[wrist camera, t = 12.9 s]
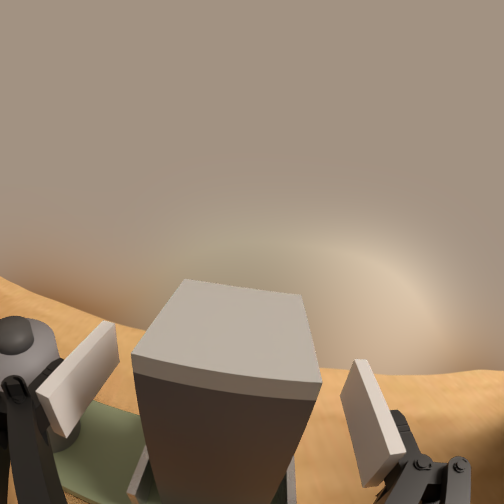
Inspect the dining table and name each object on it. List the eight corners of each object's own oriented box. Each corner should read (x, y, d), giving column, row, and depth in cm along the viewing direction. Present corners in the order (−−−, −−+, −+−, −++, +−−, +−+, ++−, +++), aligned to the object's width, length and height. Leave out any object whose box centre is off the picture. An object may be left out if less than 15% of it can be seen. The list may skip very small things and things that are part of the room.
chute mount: (283, 440, 19) (291, 416, 18) (284, 533, 11) (297, 519, 10) (167, 422, 19) (165, 397, 18) (135, 510, 11) (126, 492, 10)
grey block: (263, 445, 18) (301, 295, 15) (260, 521, 12) (322, 382, 8) (184, 433, 18) (184, 278, 15) (162, 505, 12) (130, 353, 8)
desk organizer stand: (286, 448, 19) (319, 350, 16) (288, 543, 10) (349, 477, 8) (46, 388, 19) (20, 289, 17) (-3, 447, 11) (-60, 342, 8)
